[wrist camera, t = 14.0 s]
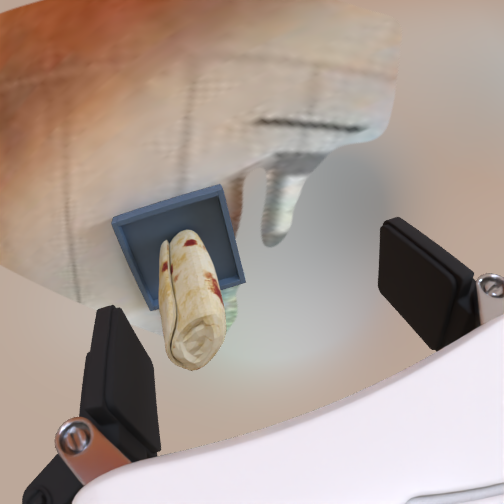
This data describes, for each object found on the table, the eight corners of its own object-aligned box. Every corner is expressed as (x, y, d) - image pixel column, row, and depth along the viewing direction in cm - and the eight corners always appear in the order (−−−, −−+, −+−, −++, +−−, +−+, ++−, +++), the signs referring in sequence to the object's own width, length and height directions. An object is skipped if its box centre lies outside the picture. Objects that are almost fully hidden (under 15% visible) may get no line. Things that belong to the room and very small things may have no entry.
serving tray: (150, 303, 50) (150, 311, 48) (113, 217, 42) (111, 223, 40) (242, 274, 52) (246, 282, 50) (220, 183, 44) (223, 188, 42)
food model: (190, 282, 50) (212, 384, 33) (149, 272, 47) (152, 376, 30) (213, 226, 46) (249, 317, 29) (169, 213, 44) (178, 303, 27)
